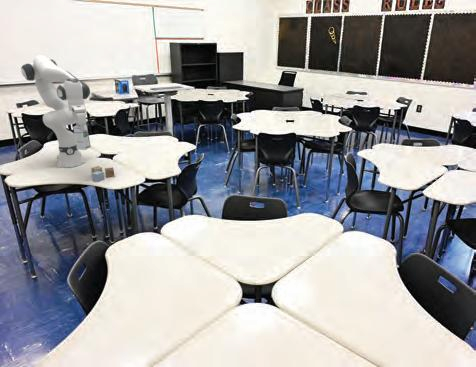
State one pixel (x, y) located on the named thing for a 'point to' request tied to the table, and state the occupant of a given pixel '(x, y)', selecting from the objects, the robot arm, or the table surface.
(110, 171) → the walnut cube
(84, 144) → the syrup box
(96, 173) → the slate blue cube
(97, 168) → the maple cube
